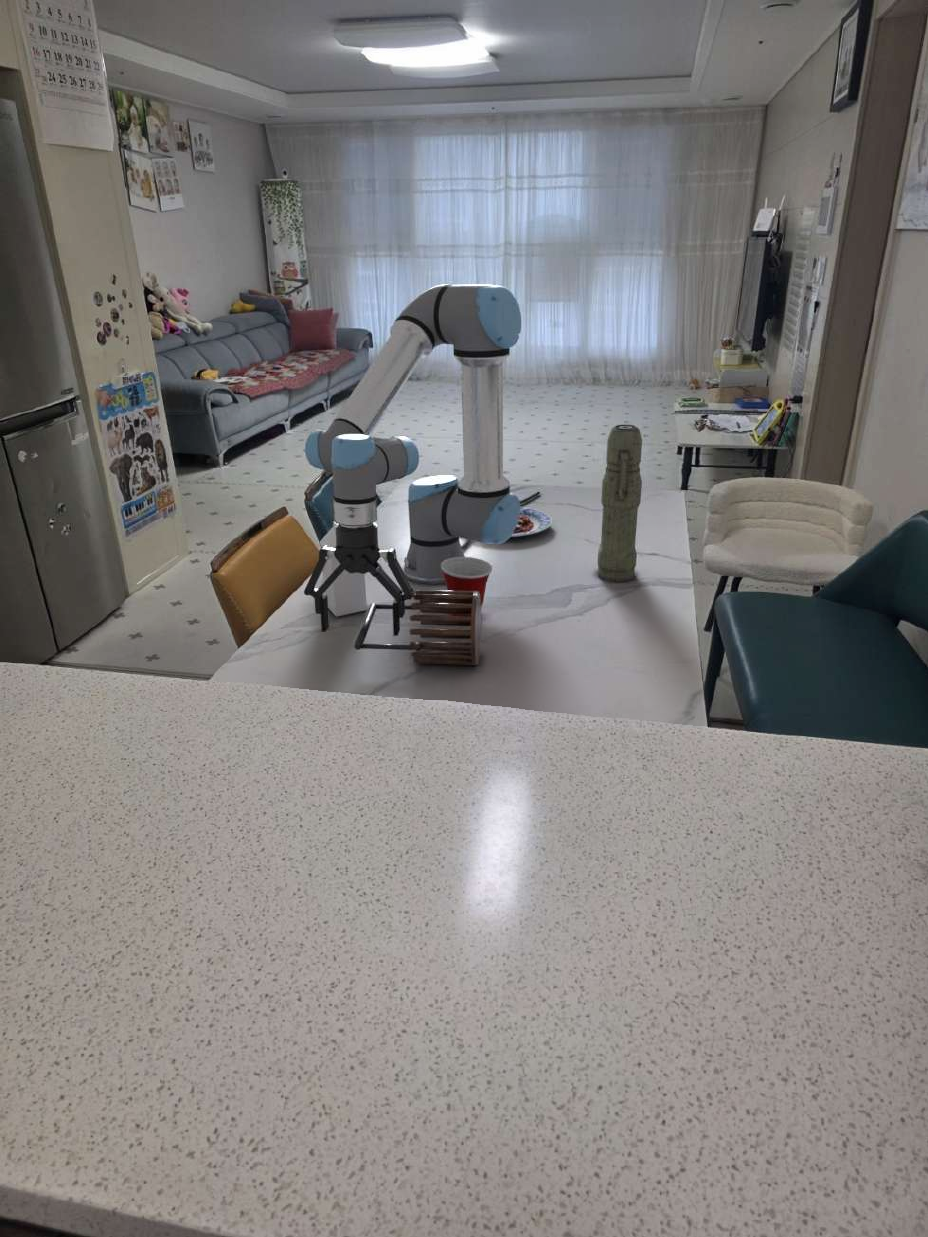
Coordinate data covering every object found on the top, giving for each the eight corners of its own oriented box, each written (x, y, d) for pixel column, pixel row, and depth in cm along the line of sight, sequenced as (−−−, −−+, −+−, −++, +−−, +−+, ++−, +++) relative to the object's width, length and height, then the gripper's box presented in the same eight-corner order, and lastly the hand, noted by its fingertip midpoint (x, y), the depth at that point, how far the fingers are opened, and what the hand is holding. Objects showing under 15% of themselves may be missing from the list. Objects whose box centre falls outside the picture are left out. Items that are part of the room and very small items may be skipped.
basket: (373, 634, 167) (367, 573, 160) (482, 637, 165) (480, 575, 158) (357, 679, 153) (349, 614, 146) (475, 683, 151) (473, 617, 144)
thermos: (631, 565, 201) (641, 420, 186) (638, 584, 190) (650, 432, 175) (594, 565, 201) (602, 421, 186) (599, 584, 190) (608, 432, 176)
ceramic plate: (568, 522, 231) (568, 511, 230) (524, 549, 212) (524, 538, 211) (489, 508, 244) (489, 499, 243) (441, 533, 225) (440, 523, 223)
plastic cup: (488, 630, 170) (487, 575, 164) (436, 626, 172) (435, 572, 167) (496, 608, 179) (496, 556, 174) (448, 605, 181) (446, 554, 176)
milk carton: (336, 617, 176) (328, 533, 168) (325, 605, 182) (317, 524, 174) (367, 610, 179) (361, 527, 171) (355, 599, 185) (349, 518, 177)
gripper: (282, 526, 146) (290, 635, 154) (422, 531, 143) (423, 642, 151) (294, 514, 153) (302, 620, 161) (428, 519, 150) (429, 626, 158)
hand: (360, 631), depth 156 cm, fingers open, 13 cm apart
